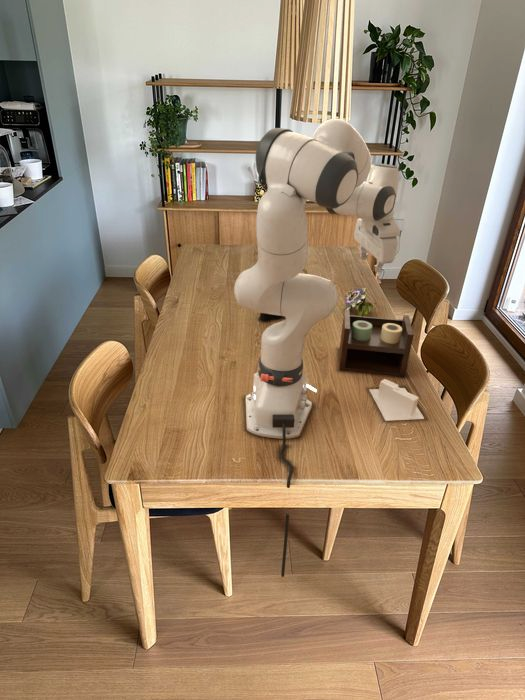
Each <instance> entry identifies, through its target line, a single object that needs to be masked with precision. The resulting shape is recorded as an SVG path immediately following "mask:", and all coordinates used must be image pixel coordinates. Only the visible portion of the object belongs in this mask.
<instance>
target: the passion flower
mask: <svg viewBox="0 0 525 700" xmlns="http://www.w3.org/2000/svg"><path fill="white" fill-rule="evenodd" d="M366 291H367V287H364V288H363V287H362V288H356V289H353V288H351V289H349V290H348V291H347V292H346V293H345V298H346V299H345V305H346V307H347V308H345V310H350V311H351V310H352V309H353V308H356V311H357V316H362V315H363V317H368V315H370V314H371V309H374V310H375V309H376V307H377V302H373V303H372V302H368V301H366V298H367V295H366V294H365V293H366ZM373 304H374V305H373Z"/></svg>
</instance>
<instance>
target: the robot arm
mask: <svg viewBox="0 0 525 700" xmlns="http://www.w3.org/2000/svg"><path fill="white" fill-rule="evenodd" d="M371 155H372V154H371V152H370V150H369V148H368V145H367V143H366V142H365V140H364V138H363V136H362V135H361V134H360V133H359V132H358V130H357V129H356V128H355V127H354V126H353V125H352V124H351V123H350V122H348V121H346V120H345V119H342V118H330V119H328V120H326V121H324V122H322V123H321V124H320V125H318V127H317V128H316V129H315V131H314V133H313V135H312V137H310V136H308V135H305V134H302V133H297V132H294V131H293V130H291V129H289V128H283V127H275V128H271V129H270V130H268V131H267V132H265V134H264V135H263V136H262V137H261V139H260V140H259V142H258V144H257V147H256V151H255V167H256V172H257V175H258V177H257V179H258V182H259V185H260V186H261V188H263V189H264V190H266V192H264V194H263V195H262V196H261V197H260V199H259V201H258V205H257V209H256V210H257V211H256V217H255V218H256V221H255V235H256V244H257V261H256V262H255V264H254V265H253V266H251V267H250V268H248V269H244V270H243V271H242V272H241V273H240V274H239V275H238V277H237V278H236V280H235V282H234V286H233V293H234V298H235V301H236V303H237V305H238V306H239V307H240V308H243V309H246V310H249V311H251V312H255V313H258V314H260V313H265V314H272V315H279V316H284V317H285V318H284V320H281V321H278V322H275V323H273V324H271V325H269V326H267V328H265V329H264V331H263V332H262V334H261V339H260V340H261V341H260V343H261V344H260V357H259V359H258V364H257V365H258V366H257V367H258V368H257V370H258V371H256V372H255V373H253V386H252V387H253V389H252V391H251V392H250V393H248V394H246V395H245V398H244V399H245V400H244V401H245V423H246V424H245V425H246V426H245V427H246V431H247V432H249V433H251V434H254V435H255V436H258V437H263V438H270V439H276V440H277V439H279V440H282V445H281V448H280V451H279V457H280V459H281V460H282V462H284V463H285V464H286V465H287V466H288V468H289V472H288V475H287V480H286V488H287V489H290V488H291V481H292V477H293V473H294V468H293V465H292V463H291V462H290V460H288V459H287V458H286V457H285V456H284V451H285V449H286V446H287V445H286V444H287V443H286V442H287V440H288V439H294V438H298V437H300V435H301V433H302V431H303V429H304V427H305V424H306V422H307V419H308V417H309V415H310V412H311V410H312V408H313V402H312V401H311V400H309V399H308V398H307V393H308V389H309V390H311V391H312V392H315V393H317V389H316V388H315V387H313V386H312V385H310V384H308V379H307V378H306V377H305V376H304V375H303V373H304V360H303V354H304V347H305V341H306V338H307V336H308V334H309V332H310V331H311V329H312V328H313V327H315V326H316V325H317V324H319V322H321V321H323V320H325V319H327V318H329V317H330V316H331V315H332V314H333V312H334V311H335V309H336V307H337V304H338V297H339V295H338V290H337V287H336V286H335V284H334V282H333V281H332V280H330V279H328V278H326V277H322V276H319V275H316V274H310V273H309V274H308V273H302V271H303V270H304V269H305V267H306V266H307V263H308V259H309V257H308V256H309V251H308V250H309V248H308V247H309V245H308V244H309V241H308V240H309V235H308V234H309V231H308V230H309V229H308V221H307V220H308V219H307V214H306V209H305V208H306V204H307V202H308V201H309V202H312V203H316V204H317V205H318V206H319V207H322V208H325V210H326V211H327V213H329V214H331V215H338V216H346V217H351V218H355V219H357V220H356V223H355V227H354V233H353V238H354V241H355V242H356V243H358V244H359V251H360V256H359V258H360V259H361V260H362V261H365V260H368V257H369V254H371V256H373V258H375V259H376V264H375V265H373V271H374V272H375V273H381V272H382V269H383V267H384V265H385V264H391V263H393V262H394V261H395V259H396V254H397V250H398V237H399V236H400V235H401V228H400V227H399V225H398V224H397V222H396V218H395V217H394V215H395V204H396V200H397V197H398V189H399V176H400V175H399V173H400V171H399V168H398V167H397V166H395V165H392V164H388V163H379V162H376V163H373V164H372V156H371ZM284 523H285V525H284V539H283V550H282V561H281V572H280V573H281V575H280V576H281V577H282V578H284V577H285V570H286V559H287V548H288V538H289V525H290V514H288V513H287V514H285V522H284Z"/></svg>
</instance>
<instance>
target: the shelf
mask: <svg viewBox="0 0 525 700" xmlns="http://www.w3.org/2000/svg"><path fill="white" fill-rule="evenodd" d="M355 321H367V322H369V323H371V324H372V332H371V338H370V339H369V340H366V341H360V340H356V339H354V338H353V337H352V336H351V333H352V326H353V323H354V322H355ZM386 323H393V324H397V325H399V326H401V327H402V333H401V338H400V342H399V343H395V344H390V343H386V342H384V341H382V340H381V338H380V337H381V331H382V326H383V325H384V324H386ZM414 335H415V334H414V330H413V327H412V323H411V320H410V315H403V317H402V319H397V318H396V319H395V318H383V317H373V316H365V317H364V315H363V316H362V315H361V316H358V315H353V314H352V315H351V310H346V309H344V312H343V319H342V327H341V335H340V341H339V351H338V353H339V355H338V356H339V357H338V371H340V372H350V373H358V374H369V375H378V376H388V377H398V378H399V377H400V378H405V377H406V374H407V369H408V365H409V359H410V354H411V350H412V345H413V340H414Z"/></svg>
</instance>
